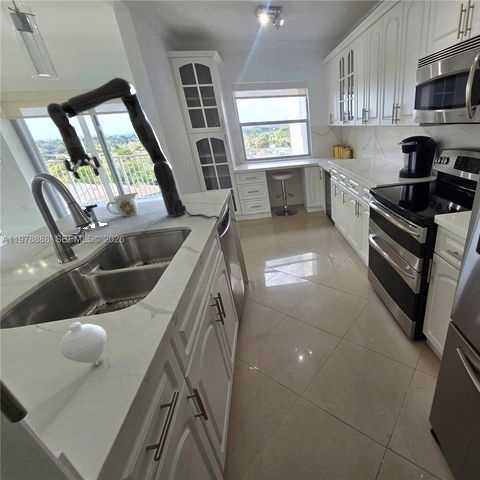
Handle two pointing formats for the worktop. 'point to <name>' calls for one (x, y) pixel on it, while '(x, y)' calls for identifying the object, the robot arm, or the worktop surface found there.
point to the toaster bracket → (94, 221)
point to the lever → (90, 207)
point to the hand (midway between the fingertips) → (88, 177)
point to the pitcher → (125, 205)
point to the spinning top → (83, 343)
